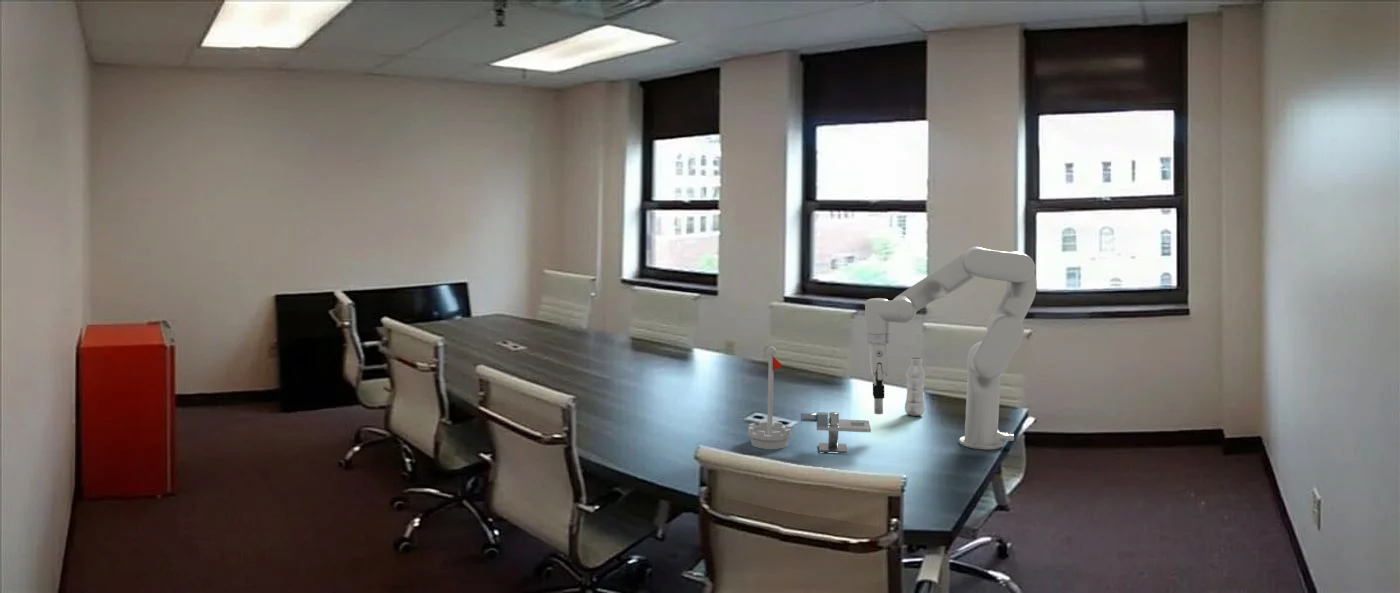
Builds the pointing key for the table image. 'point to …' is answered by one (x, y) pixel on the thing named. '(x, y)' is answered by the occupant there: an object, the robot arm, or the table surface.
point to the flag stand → (770, 417)
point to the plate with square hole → (835, 429)
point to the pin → (878, 405)
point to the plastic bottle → (915, 388)
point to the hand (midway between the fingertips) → (878, 396)
